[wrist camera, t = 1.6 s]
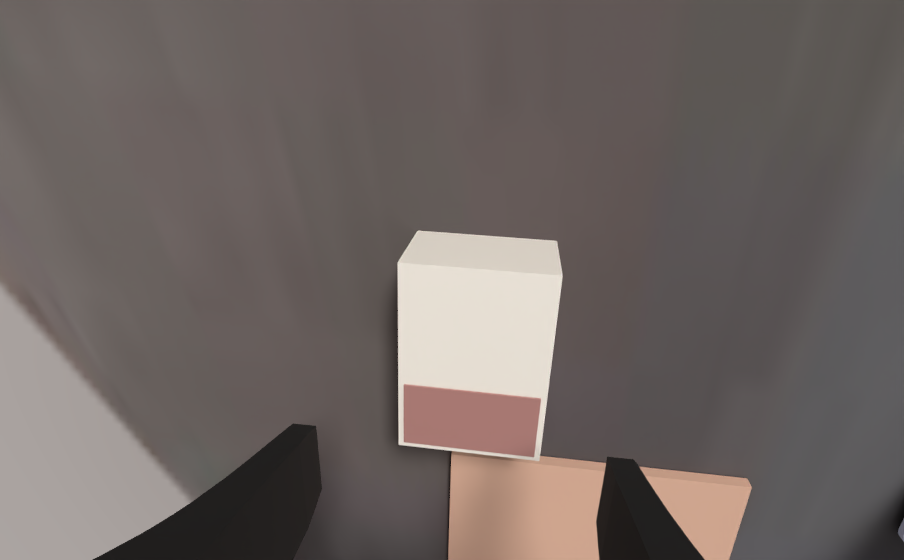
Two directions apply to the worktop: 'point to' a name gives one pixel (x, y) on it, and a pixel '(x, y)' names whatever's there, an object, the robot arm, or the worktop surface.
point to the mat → (574, 508)
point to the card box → (476, 342)
